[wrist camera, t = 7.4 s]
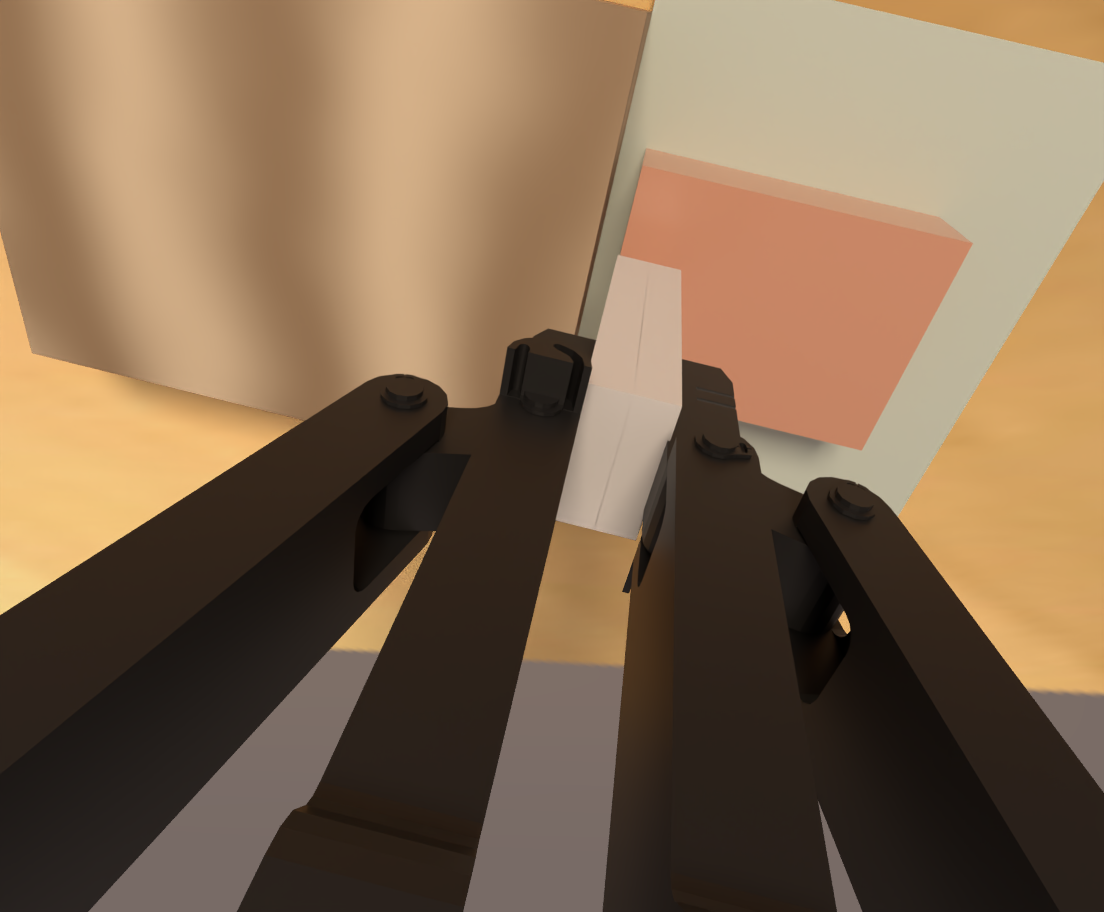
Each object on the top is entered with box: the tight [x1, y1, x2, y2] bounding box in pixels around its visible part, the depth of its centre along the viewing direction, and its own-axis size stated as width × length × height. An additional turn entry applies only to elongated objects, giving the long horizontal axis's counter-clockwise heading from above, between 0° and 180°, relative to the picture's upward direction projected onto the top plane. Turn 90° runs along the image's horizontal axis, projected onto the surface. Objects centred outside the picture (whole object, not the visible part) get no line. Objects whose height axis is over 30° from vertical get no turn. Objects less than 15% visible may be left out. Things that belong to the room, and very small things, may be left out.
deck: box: [0, 0, 652, 420], centre depth 19 cm, size 16×12×4 cm
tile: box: [620, 148, 973, 451], centre depth 19 cm, size 8×6×2 cm
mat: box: [578, 0, 1104, 517], centre depth 20 cm, size 12×14×1 cm
